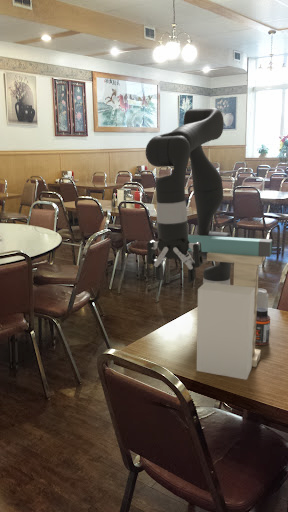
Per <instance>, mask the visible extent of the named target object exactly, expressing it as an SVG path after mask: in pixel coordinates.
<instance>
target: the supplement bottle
mask: <svg viewBox="0 0 288 512" xmlns="http://www.w3.org/2000/svg"><path fill="white" fill-rule="evenodd" d="M268 312H269V309H268V310H267V309H266V308H263V307H257V316H256V338H255V346H266V345H268V344H269V342H270V341H269V340H270V332H271V330H270V329H271V328H270V327H271V317H270V316H269V313H268Z"/></svg>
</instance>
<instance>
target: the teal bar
mask: <svg viewBox="0 0 288 512" xmlns="http://www.w3.org/2000/svg"><path fill="white" fill-rule="evenodd" d="M188 241H189V243H197V242H200V243H201V250H202V252H212V253H225V254H239V255H253V256H264V257H265V258H268V257H269V258H270V257H271V256H272V254H273V239H270V238H269V239H268V238H252V237H251V238H250V237H248V238H247V237H219V236H202V235H198V234H188ZM188 252H192V250H191V248H189V249H188Z"/></svg>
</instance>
